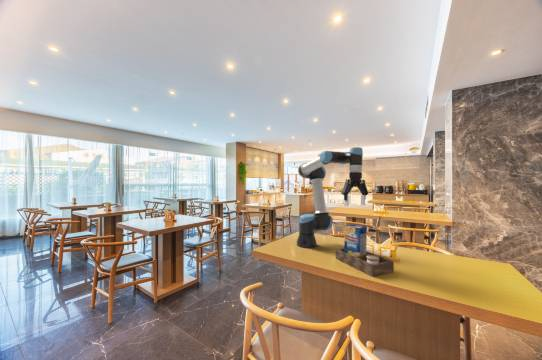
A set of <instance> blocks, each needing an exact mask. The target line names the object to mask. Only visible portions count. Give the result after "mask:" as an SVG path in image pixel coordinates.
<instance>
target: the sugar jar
mask: <svg viewBox="0 0 542 360" xmlns="http://www.w3.org/2000/svg"><path fill="white" fill-rule="evenodd" d="M366 258H367V262H368V263H371V264H377V263H379V257H377V256H374V255H367V256H366Z"/></svg>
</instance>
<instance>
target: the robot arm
mask: <svg viewBox="0 0 542 360" xmlns="http://www.w3.org/2000/svg"><path fill="white" fill-rule="evenodd" d="M363 153H364V152H363V147H358V146H357V147H354V146H353V147H350V149H349V151H344V152H343V151H334V150H333V151H332V150H323V151H321V152H320V154H319V156H317V157H316V158H313V159H312V160H310V161H308V162H304V163H302V164H300V165H299V167H298V168H297V169H298V170H297V172H298V174H299V176H300V177H301V178H304V179H309V180H308V181H309V182H310V183H311V188H312V196H313V203H314V210H315V212H313V213H304V214H301V215H300V216H299V221H298V225H299V227H298V236H297V240H296V245H297V246H298V247H300V248H305V249H307V248H309V249H310V248H311V249H312V248H315V247H317V246H318V245H317V244H318V243H317V240H316V236H315V232H316V231H317V232H319V231H320V232H321V231H329V230H330V229H332V227H333V225H334V221H333V217H332V216H331V215H330V214H329V211H327V206H326V200H325V194H324V186H323V185H324V184H323V182H324V180H325V178H326V176H327V171H326V168H325V166H327V165H329V164H331V163H332V164H341V165H345V164H349V168H348V169H349V173H348V174H349V175H348V176H349V178H347V179H345V183H344V185H343V187H342V190H341V191H340V192H341V195H342V196H343V200H344V201H343V202H344V206H345V207H349V204H350V203H349V202H350V197H349V195H348V194H349V193H350V192H351V191H352V189H353V188H358V191H359V192H360V194H361V195H360V206H366V196H367V195H368V194H369V190H368V188H367V185H366V180H365V179H362V178H363V157H364V155H363Z"/></svg>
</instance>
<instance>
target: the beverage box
mask: <svg viewBox="0 0 542 360" xmlns="http://www.w3.org/2000/svg"><path fill="white" fill-rule="evenodd" d="M367 230H368V227H367V226H364V225H363V226H362V225H358V224H353V223H349V224H345V225H344V240H343V241H344V243H343V246H344V247H343V248H344V252H345V253H347V254H350V255H352V256H354V257H355V256H361V255H366V251H367V237H368V236H367V233H368V232H367Z"/></svg>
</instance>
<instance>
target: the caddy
mask: <svg viewBox="0 0 542 360" xmlns="http://www.w3.org/2000/svg"><path fill="white" fill-rule="evenodd" d="M367 255H374V256H377V257H379V263H377V264H371V263H368V262H367V258H366V256H367ZM335 259H336V260H338V261H340V262H341V263H344V264H346V265H347V266H350V267H352V268H354V269H356V270H358V271H360V272H361V273H364V274H366V275H368V276H370V277H372V278H373V277H378V276H383V275H386V274H392V273H394V267H395V265H394V263H395V261H394V260H392V259H388V258H387V257H383V256H381V255H378V254H376V253H373V252H370V251H367V250H366V255H361V256H355V257H354V256H352V255H350V254H347V253H345V252H344V247H343V248H337V249H335Z"/></svg>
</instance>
